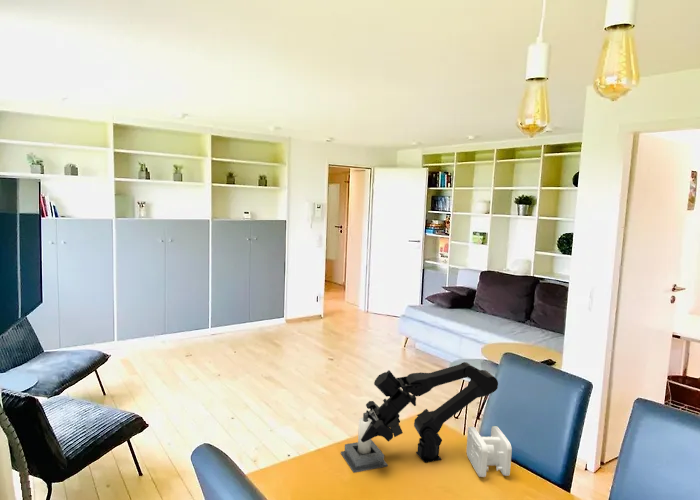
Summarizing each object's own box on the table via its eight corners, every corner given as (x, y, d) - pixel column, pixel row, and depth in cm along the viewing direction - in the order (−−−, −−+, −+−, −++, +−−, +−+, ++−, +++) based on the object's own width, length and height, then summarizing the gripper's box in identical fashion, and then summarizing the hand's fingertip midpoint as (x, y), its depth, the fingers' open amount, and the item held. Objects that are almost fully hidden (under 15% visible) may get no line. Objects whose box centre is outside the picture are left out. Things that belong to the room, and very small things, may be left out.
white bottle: (370, 454, 157) (372, 410, 155) (371, 461, 152) (373, 417, 151) (356, 453, 157) (358, 410, 155) (357, 461, 152) (359, 416, 151)
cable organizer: (511, 481, 146) (514, 446, 145) (478, 481, 145) (481, 446, 144) (494, 455, 161) (496, 423, 159) (464, 455, 160) (466, 423, 159)
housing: (372, 447, 162) (373, 438, 162) (387, 466, 151) (388, 455, 151) (340, 453, 158) (341, 443, 158) (353, 472, 147) (354, 461, 147)
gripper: (418, 434, 147) (382, 469, 146) (402, 408, 165) (371, 439, 164) (395, 411, 145) (359, 446, 144) (382, 387, 163) (350, 418, 162)
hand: (360, 437), depth 154 cm, fingers closed on white bottle, 4 cm apart
